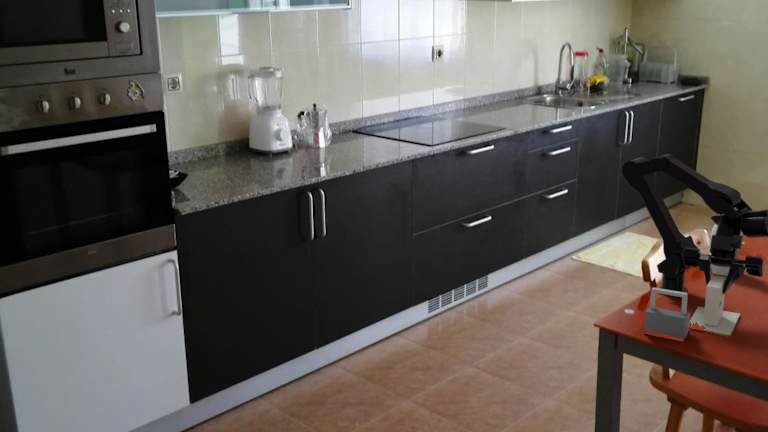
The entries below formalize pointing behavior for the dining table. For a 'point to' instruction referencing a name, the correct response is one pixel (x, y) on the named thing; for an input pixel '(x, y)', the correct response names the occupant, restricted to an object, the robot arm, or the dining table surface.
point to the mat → (723, 326)
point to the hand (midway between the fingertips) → (715, 292)
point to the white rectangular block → (714, 300)
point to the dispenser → (667, 316)
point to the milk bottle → (718, 268)
